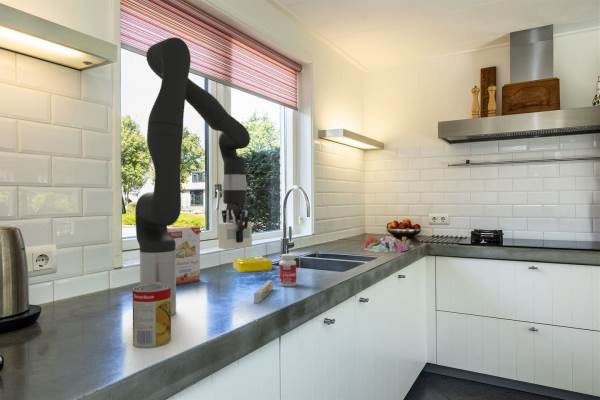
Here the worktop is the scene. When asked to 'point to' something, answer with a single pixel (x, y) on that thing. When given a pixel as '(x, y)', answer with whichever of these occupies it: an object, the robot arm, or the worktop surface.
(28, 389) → the worktop surface
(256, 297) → the rail
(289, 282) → the pill bottle
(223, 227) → the product carton
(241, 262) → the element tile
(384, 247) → the candy landscape model
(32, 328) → the worktop surface
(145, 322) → the canned food
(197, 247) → the cracker box
